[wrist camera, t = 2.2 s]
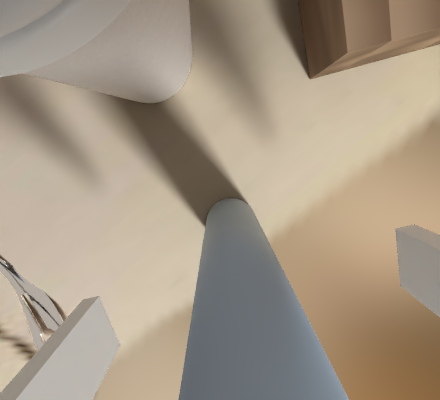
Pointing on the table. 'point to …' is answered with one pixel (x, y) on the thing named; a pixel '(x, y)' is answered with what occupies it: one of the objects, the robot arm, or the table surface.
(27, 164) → the table surface
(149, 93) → the coffee cup
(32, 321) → the silver metal utensil
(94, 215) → the table surface
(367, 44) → the socket block
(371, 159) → the table surface
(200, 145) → the table surface
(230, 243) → the tall dowel
